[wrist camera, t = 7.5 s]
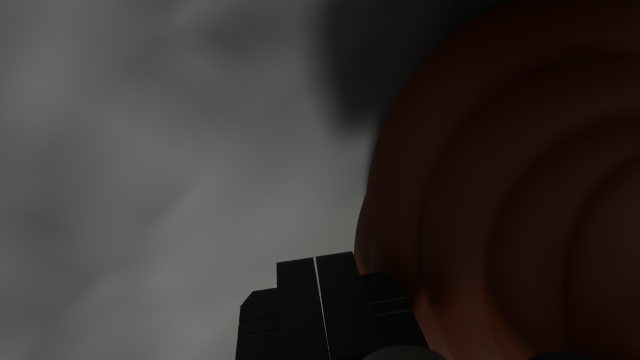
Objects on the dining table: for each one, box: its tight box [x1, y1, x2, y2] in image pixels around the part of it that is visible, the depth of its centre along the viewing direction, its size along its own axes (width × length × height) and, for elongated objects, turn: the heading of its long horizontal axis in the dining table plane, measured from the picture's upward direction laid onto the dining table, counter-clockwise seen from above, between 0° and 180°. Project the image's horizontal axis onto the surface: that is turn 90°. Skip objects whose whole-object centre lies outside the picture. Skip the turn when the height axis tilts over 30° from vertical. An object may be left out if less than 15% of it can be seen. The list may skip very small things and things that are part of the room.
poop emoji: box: [354, 0, 640, 360], centre depth 11 cm, size 10×8×9 cm
